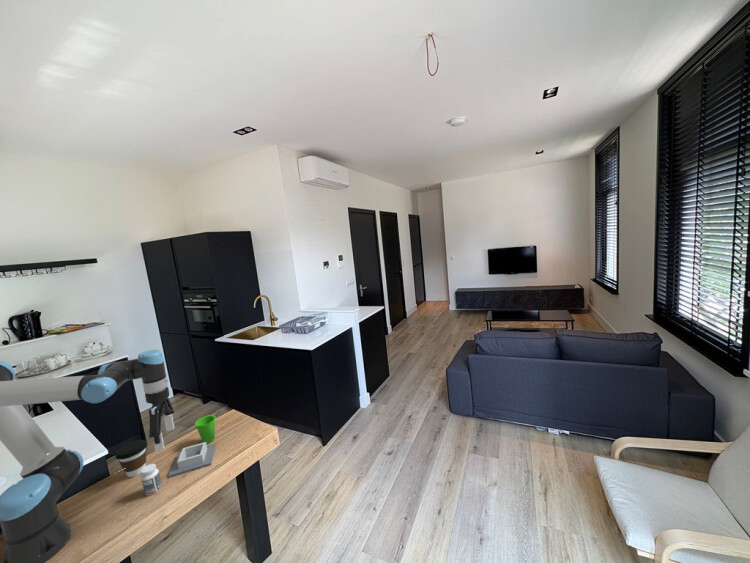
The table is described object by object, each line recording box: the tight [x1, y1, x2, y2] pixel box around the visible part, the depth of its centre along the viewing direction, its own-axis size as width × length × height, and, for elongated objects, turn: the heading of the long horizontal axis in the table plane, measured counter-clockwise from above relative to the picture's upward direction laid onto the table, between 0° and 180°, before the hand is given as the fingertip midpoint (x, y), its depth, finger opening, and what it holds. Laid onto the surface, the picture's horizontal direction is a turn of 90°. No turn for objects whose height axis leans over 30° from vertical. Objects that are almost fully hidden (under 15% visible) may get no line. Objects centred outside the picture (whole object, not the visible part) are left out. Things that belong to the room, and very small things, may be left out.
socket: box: [168, 442, 217, 478], centre depth 135 cm, size 16×14×4 cm
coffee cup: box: [114, 439, 148, 478], centre depth 131 cm, size 11×11×12 cm
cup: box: [194, 414, 217, 444], centre depth 148 cm, size 9×9×11 cm
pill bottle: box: [140, 463, 163, 496], centre depth 120 cm, size 6×6×10 cm
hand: (165, 439), depth 120 cm, fingers open, 13 cm apart
